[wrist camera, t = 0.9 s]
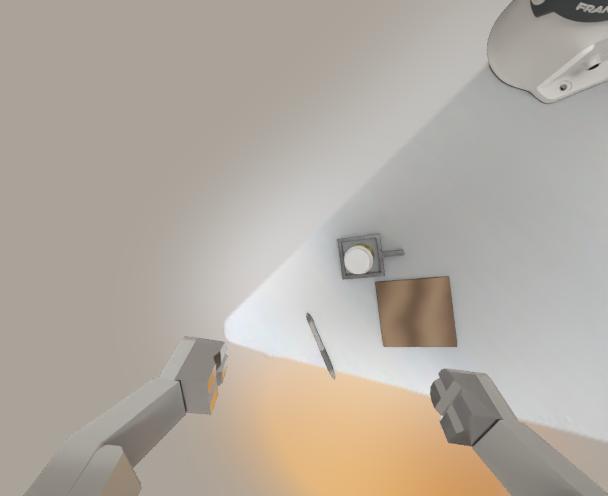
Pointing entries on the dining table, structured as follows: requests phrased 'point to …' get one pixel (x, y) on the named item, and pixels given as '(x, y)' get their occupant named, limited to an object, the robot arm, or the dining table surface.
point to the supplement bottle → (359, 259)
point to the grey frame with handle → (381, 254)
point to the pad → (416, 313)
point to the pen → (321, 346)
